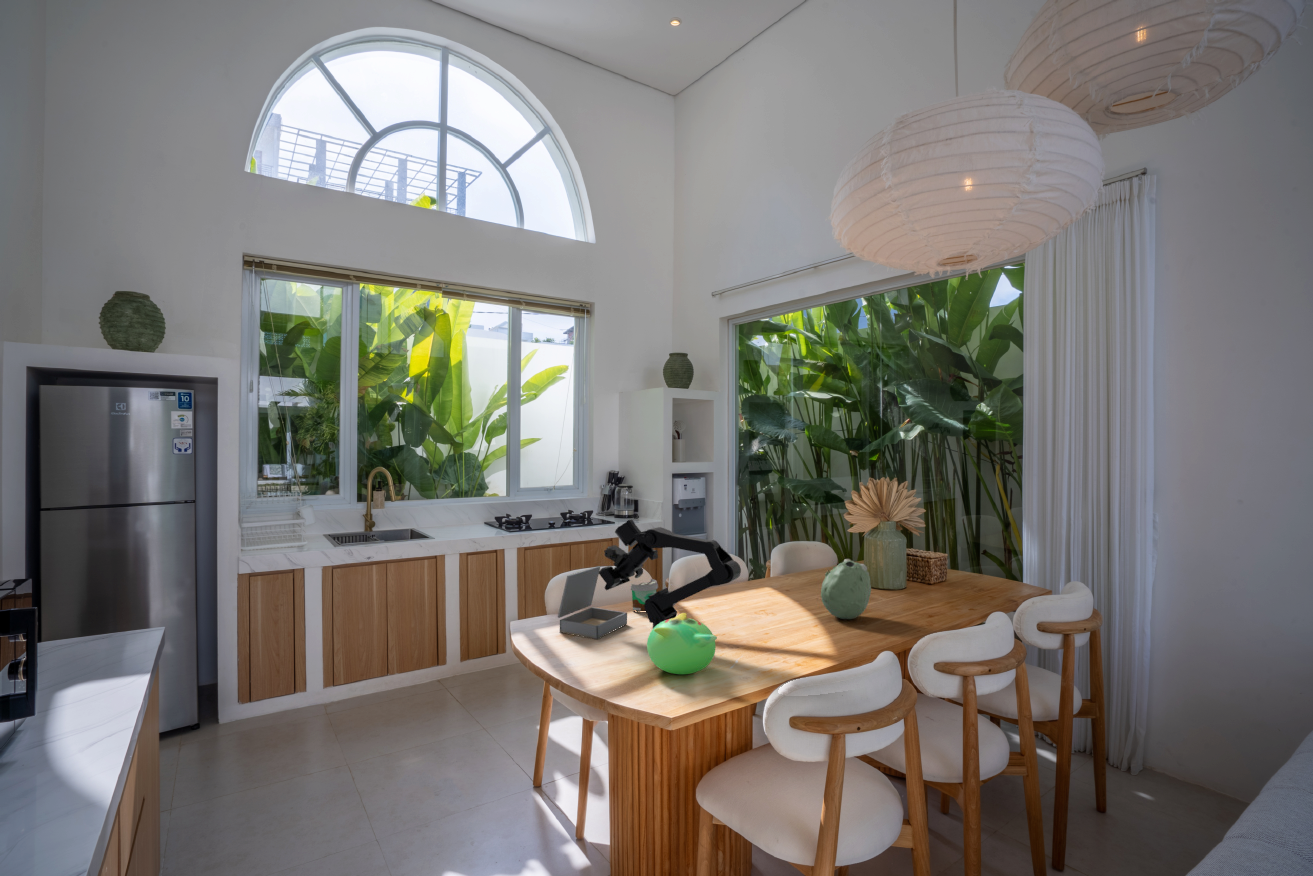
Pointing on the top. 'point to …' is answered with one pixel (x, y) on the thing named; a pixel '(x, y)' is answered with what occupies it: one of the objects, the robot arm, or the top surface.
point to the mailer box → (593, 622)
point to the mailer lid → (578, 591)
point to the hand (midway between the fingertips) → (605, 589)
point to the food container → (642, 593)
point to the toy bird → (681, 645)
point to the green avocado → (846, 589)
